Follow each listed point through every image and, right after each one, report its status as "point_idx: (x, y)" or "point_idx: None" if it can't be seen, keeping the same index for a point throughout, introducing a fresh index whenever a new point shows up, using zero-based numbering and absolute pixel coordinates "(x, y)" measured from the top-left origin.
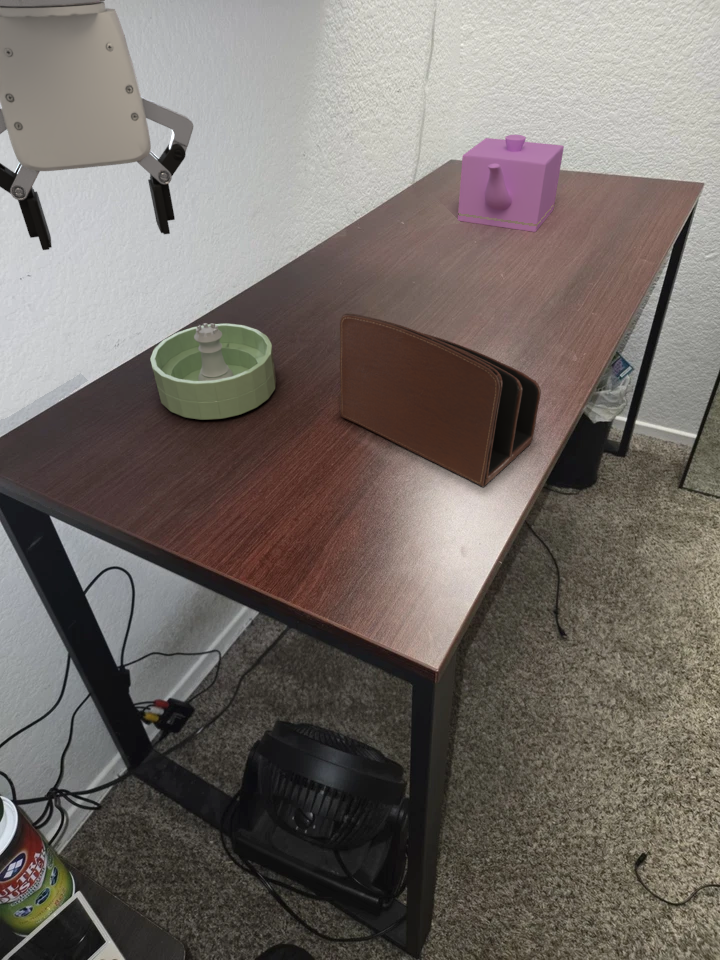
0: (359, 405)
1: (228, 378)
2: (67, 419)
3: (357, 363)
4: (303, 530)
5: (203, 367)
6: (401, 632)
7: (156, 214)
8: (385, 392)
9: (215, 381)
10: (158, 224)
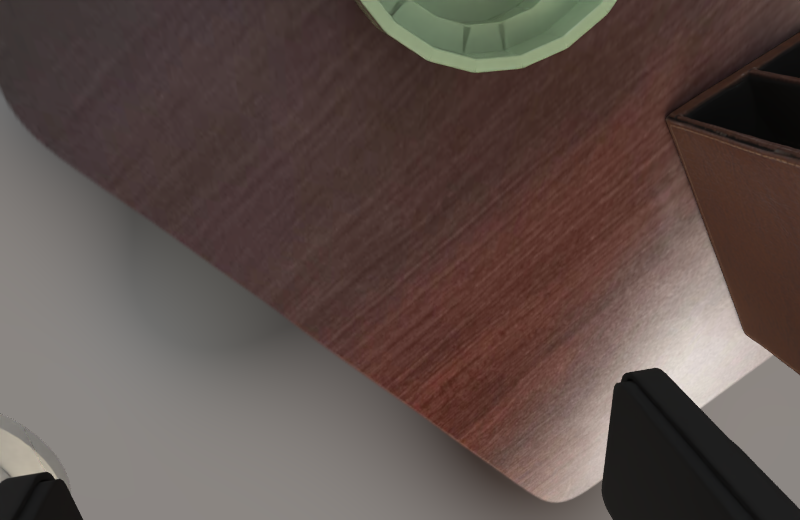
0: (708, 168)
1: (510, 62)
2: None
3: (777, 192)
4: (505, 352)
5: None
6: (546, 482)
7: (645, 506)
8: (764, 235)
9: (479, 68)
10: (618, 468)
